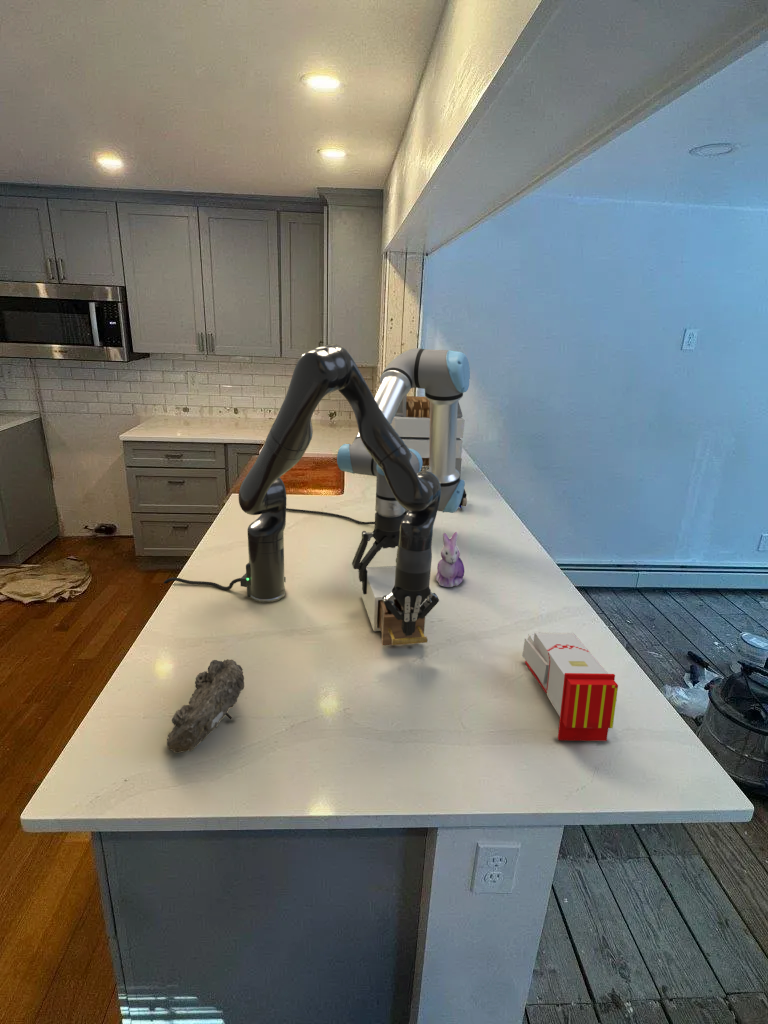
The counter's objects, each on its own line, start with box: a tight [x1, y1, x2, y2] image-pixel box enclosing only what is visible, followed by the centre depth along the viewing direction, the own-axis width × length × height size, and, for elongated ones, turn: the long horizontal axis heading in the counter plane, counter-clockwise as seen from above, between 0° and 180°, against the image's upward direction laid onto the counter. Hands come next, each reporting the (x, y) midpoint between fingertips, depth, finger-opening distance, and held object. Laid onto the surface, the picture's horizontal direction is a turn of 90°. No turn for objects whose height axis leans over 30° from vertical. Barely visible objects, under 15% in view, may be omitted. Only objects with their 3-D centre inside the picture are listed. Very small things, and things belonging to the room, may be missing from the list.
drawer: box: [377, 599, 428, 646], centre depth 136 cm, size 22×10×8 cm, turn 12°
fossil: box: [166, 658, 245, 754], centre depth 106 cm, size 22×10×15 cm
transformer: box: [391, 394, 465, 475], centre depth 268 cm, size 34×33×41 cm
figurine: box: [435, 531, 465, 588], centre depth 164 cm, size 9×10×15 cm
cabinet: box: [361, 565, 396, 632], centre depth 146 cm, size 17×11×9 cm, turn 12°
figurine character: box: [458, 488, 468, 511], centre depth 230 cm, size 7×8×15 cm
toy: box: [522, 631, 619, 742], centre depth 117 cm, size 12×13×30 cm
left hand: (407, 633), depth 127 cm, fingers closed
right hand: (386, 590), depth 150 cm, fingers closed on cabinet, 11 cm apart
